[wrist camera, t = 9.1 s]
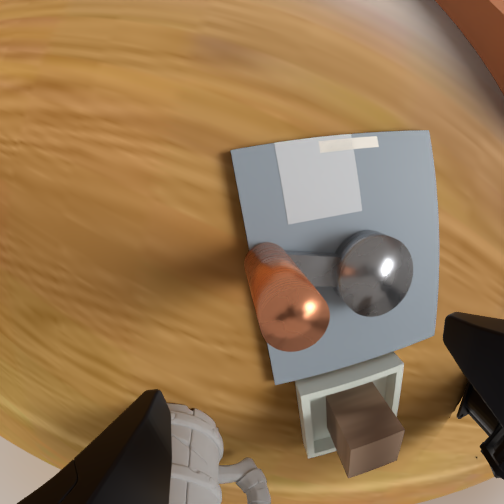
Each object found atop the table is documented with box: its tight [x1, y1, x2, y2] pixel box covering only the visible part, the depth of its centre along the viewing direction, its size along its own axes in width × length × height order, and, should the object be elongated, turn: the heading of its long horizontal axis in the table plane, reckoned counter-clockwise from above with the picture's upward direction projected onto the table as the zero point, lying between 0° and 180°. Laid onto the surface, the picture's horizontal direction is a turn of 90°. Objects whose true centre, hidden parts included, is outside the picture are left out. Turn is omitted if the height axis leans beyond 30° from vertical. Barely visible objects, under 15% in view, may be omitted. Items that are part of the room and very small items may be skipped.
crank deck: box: [230, 130, 439, 385], centre depth 19 cm, size 16×14×1 cm
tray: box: [295, 352, 404, 459], centre depth 21 cm, size 8×8×2 cm
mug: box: [167, 403, 271, 504], centre depth 16 cm, size 8×12×12 cm, turn 63°
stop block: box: [326, 382, 405, 478], centre depth 19 cm, size 4×4×6 cm
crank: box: [244, 230, 413, 352], centre depth 15 cm, size 10×5×8 cm, turn 85°
